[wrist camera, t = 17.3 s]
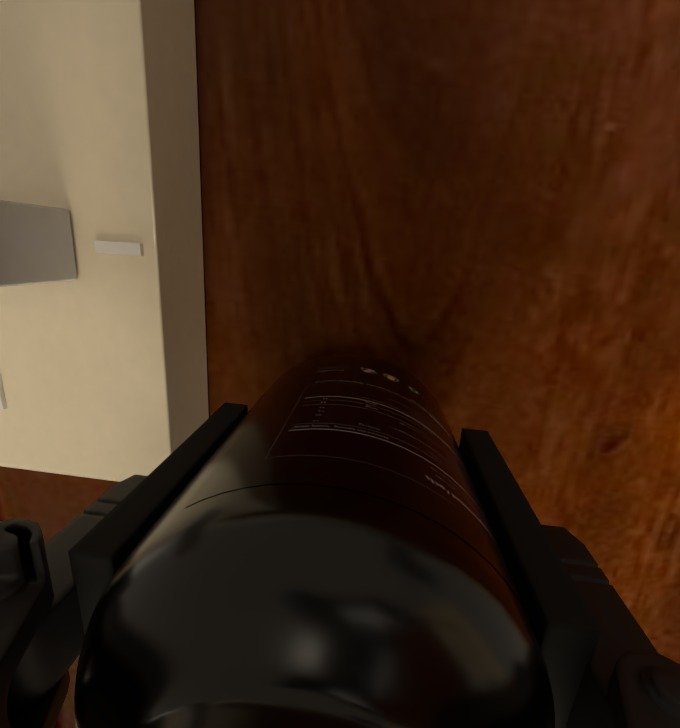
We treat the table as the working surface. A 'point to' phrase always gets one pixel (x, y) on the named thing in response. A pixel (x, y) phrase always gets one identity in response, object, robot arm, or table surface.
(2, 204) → the tap lever
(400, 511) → the supplement bottle
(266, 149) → the table surface
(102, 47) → the sink deck
